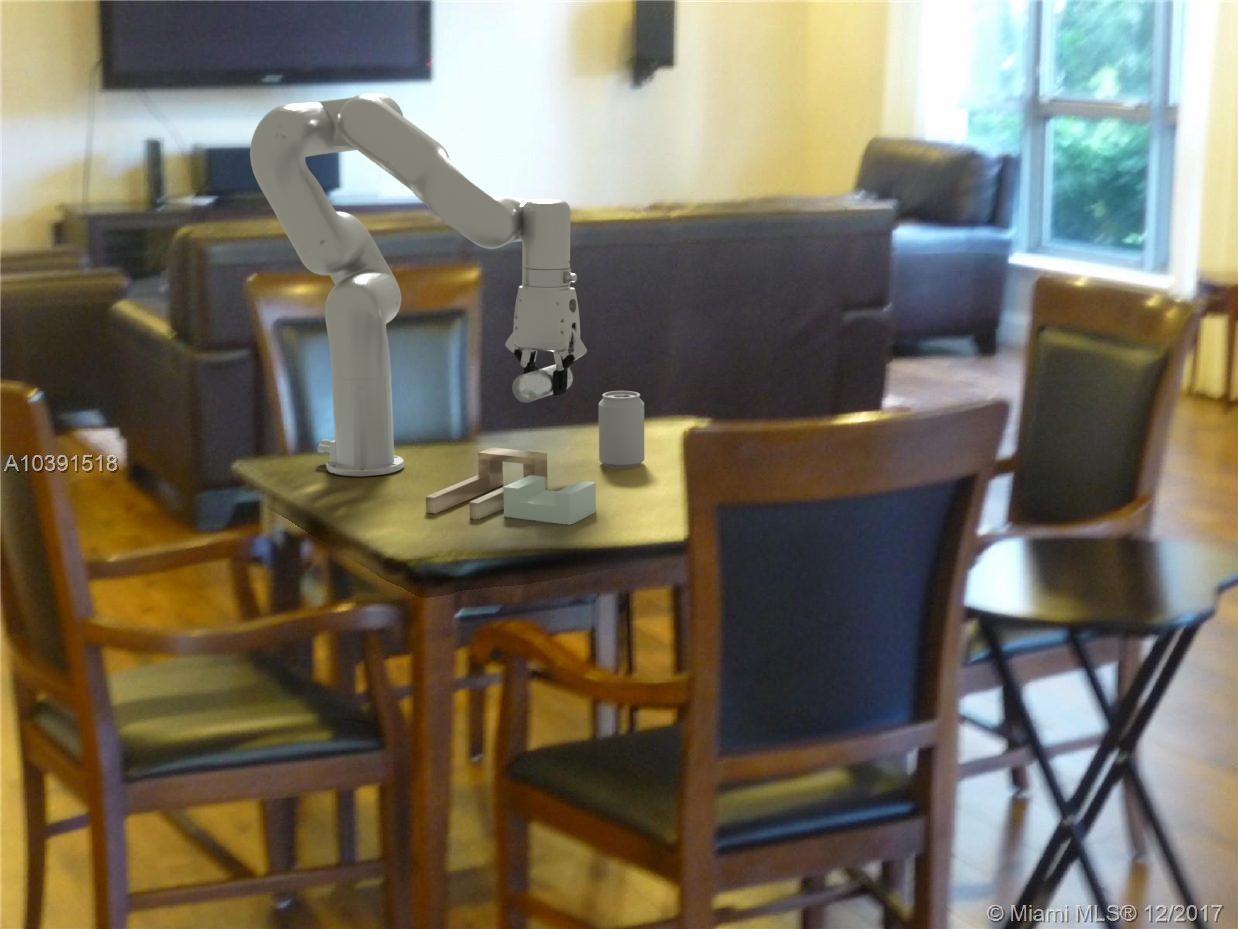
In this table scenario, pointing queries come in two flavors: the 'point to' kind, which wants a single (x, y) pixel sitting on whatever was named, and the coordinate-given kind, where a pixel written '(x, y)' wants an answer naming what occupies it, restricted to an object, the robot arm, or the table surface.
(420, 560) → the table surface
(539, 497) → the v block
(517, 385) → the axle
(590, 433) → the table surface
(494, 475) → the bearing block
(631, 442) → the can
